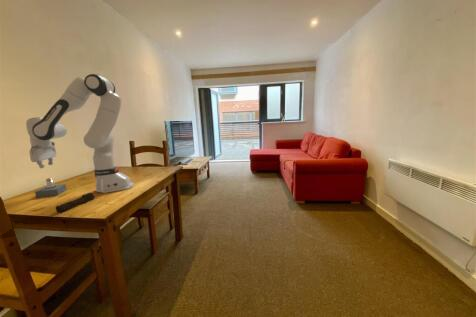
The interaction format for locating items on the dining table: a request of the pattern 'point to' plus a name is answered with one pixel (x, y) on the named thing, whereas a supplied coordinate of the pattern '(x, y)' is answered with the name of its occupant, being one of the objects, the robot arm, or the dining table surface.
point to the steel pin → (50, 183)
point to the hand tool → (75, 202)
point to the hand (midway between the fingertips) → (46, 166)
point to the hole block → (50, 191)
